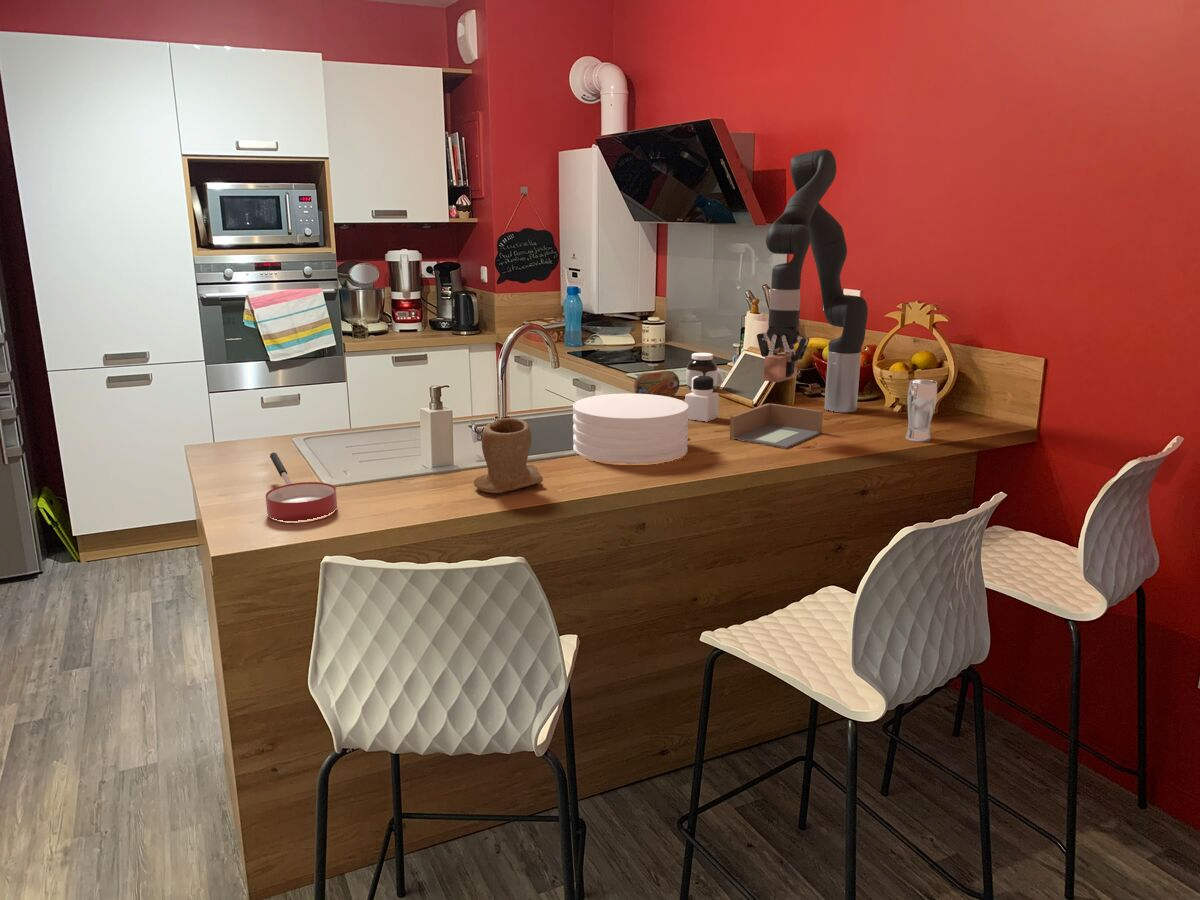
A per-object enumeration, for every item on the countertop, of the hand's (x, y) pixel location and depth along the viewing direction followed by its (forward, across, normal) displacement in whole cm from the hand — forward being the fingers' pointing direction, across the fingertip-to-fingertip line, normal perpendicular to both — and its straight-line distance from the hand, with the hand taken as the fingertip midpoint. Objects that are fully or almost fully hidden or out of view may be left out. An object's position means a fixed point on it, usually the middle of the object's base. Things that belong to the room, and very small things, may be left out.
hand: (780, 375), depth 227 cm
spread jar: (+17, -49, +44) cm, 68 cm away
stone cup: (+17, -24, -73) cm, 79 cm away
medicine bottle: (+17, -27, +7) cm, 33 cm away
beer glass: (+17, +29, +22) cm, 40 cm away
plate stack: (+17, -23, -32) cm, 43 cm away
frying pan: (+17, -54, -107) cm, 122 cm away
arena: (+17, -1, +2) cm, 17 cm away
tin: (+17, -54, +22) cm, 60 cm away
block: (+1, 0, 0) cm, 1 cm away
